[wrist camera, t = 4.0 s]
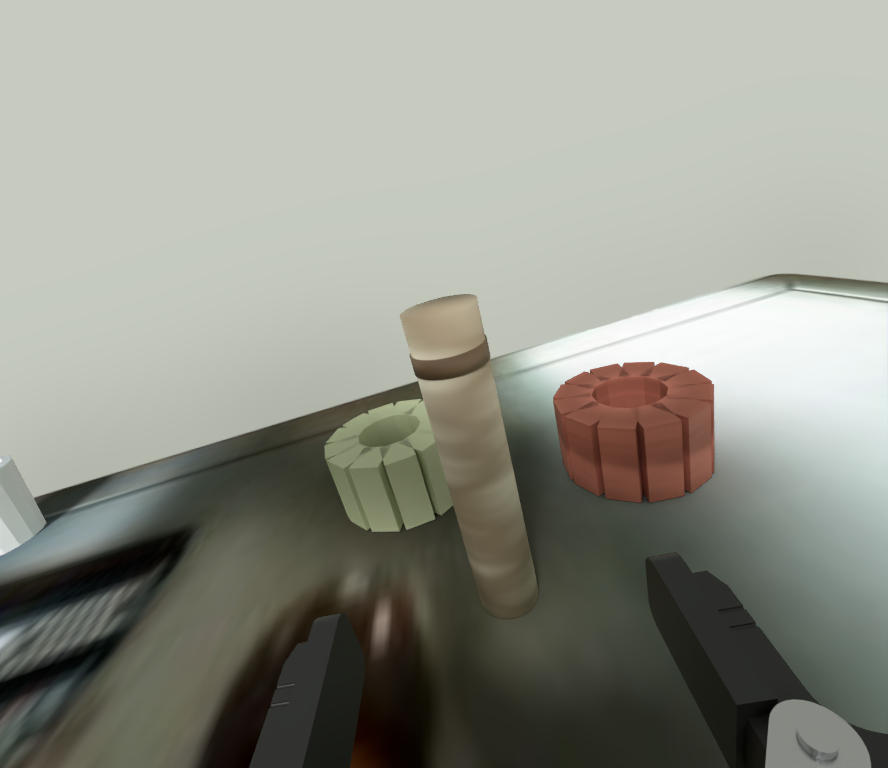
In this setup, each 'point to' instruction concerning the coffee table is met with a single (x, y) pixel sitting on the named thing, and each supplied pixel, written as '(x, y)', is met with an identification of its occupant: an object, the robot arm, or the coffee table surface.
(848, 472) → the coffee table surface
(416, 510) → the pale green bead
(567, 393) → the red bead
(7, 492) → the shot glass
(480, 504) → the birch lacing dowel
